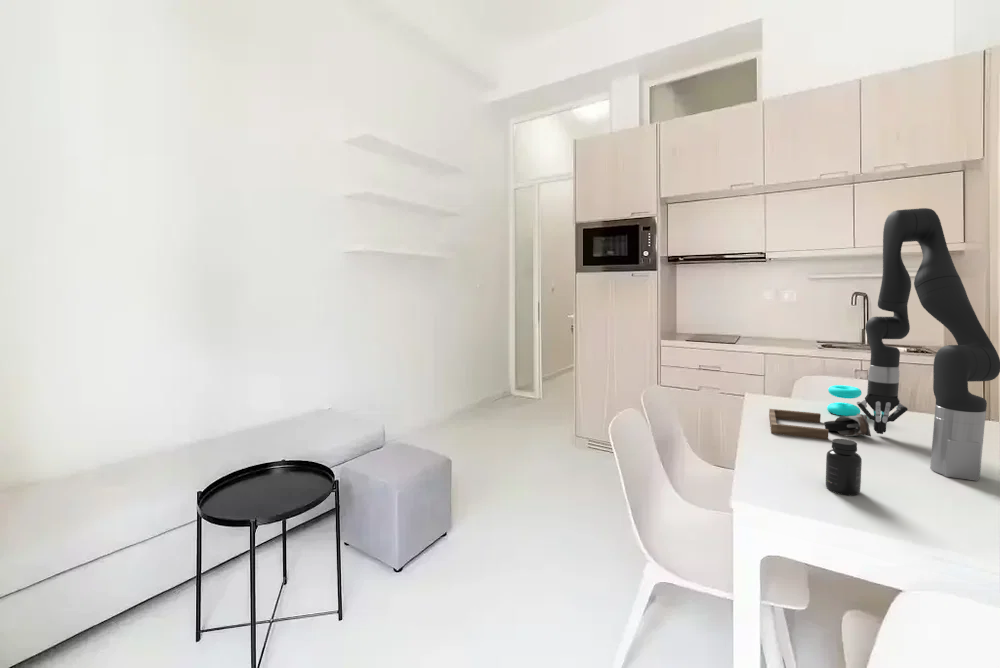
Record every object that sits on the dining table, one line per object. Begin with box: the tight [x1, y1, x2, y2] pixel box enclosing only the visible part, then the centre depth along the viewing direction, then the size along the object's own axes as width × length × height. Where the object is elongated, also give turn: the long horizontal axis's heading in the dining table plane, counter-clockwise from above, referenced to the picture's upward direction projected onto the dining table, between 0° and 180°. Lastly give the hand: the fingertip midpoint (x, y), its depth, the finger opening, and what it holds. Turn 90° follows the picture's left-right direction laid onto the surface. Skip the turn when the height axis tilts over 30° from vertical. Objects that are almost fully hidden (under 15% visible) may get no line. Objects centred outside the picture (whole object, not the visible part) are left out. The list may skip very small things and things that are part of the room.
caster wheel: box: [823, 414, 872, 437], centre depth 153 cm, size 7×11×10 cm
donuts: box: [826, 384, 862, 417], centre depth 174 cm, size 10×10×10 cm
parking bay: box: [768, 408, 830, 441], centre depth 160 cm, size 21×16×3 cm
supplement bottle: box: [825, 438, 862, 496], centre depth 112 cm, size 7×7×12 cm
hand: (879, 433), depth 149 cm, fingers closed
